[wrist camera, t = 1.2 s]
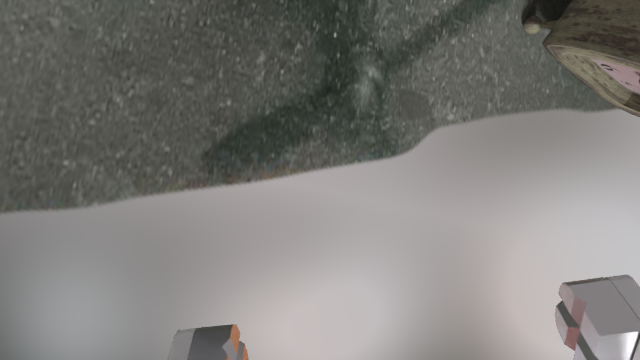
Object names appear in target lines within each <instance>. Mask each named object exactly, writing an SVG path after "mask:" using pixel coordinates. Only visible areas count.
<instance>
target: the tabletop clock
mask: <svg viewBox="0 0 640 360" xmlns="http://www.w3.org/2000/svg"><path fill="white" fill-rule="evenodd" d="M541 28H549V29H552V30H551V31H550V33H549V34H548V36H547V37H546V39H545V40H544V41H543V43H542V44H543V46H544V47H545V49H546V50H547V51H548V52H549V53H550V54H551V55H552V56H553V57H554V58H555V59H556V60H557V61H558V62H559V63H561V64H562V65H563V66H564V67H565V68H566V69H567V70H568V71H569V72H571V73H572V74H573V75H574V76H575V77H577V78H578V79H579V80H580V81H582V82H583V83H584V84H585V85H587V86H588V87H589V88H590V89H592V90H593V91H594V92H595V93H597V94H598V95H599V96H601V97H602V98H603V99H605V100H606V101H608V102H609V103H611V104H612V105H614V106H616V107H617V108H619V109H622V110H624V111H626V112H628V113H631V114H633V115H636V116H638V117H640V0H572V1H571V3H570V4H569V6H568V7H567V9H566V10H565V11H564V13H563V14H562V16H561V17H560V19H559V20H554V21H546V22H542V20H541V19H540V17H537V16H531V17H529V18H528V19H526V20H525V23H524V30H525V31H526V32H527V33H530V34H535V33H537V32H538V31H540V30H541Z"/></svg>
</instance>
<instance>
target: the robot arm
mask: <svg viewBox="0 0 640 360" xmlns="http://www.w3.org/2000/svg"><path fill="white" fill-rule="evenodd" d="M559 296H560V297H561V299H562V301H561V302H560V303H559V304H558V305H557V306H556V311H555V319H556V325H557V329H558V331H559V334H560V336H561V338H562V340H563V342H564V344H565V345H567V346H568V347H570V348H571V349H573V350H574V351H575V354H574V359H573V360H640V287H639V286H638V284H637V283H636V282H635V281H634V279H633V278H632V277H630V276H629V275H621V276H613V277H606V278H603V277H602V278H595V279H587V280H580V281H573V282H565V283H562V285H561V286H560V288H559ZM239 337H240V331H239V329H238V327H237V325H235V324H234V325H223V326H214V327H202V328H194V329H186V330H178V331H177V333H176V334H175V336H174V338H173V342H172V345H171V349H170V352H169V356H168V359H167V360H248V354H247V349H246V347H245V344H244V343H242V342H241V341H239Z"/></svg>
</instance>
